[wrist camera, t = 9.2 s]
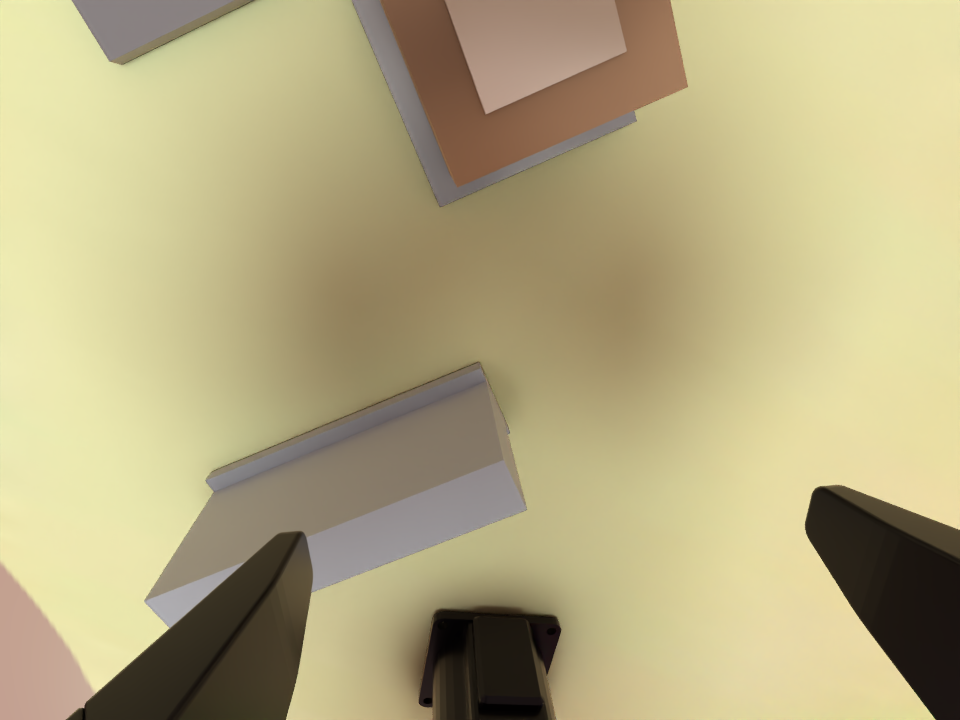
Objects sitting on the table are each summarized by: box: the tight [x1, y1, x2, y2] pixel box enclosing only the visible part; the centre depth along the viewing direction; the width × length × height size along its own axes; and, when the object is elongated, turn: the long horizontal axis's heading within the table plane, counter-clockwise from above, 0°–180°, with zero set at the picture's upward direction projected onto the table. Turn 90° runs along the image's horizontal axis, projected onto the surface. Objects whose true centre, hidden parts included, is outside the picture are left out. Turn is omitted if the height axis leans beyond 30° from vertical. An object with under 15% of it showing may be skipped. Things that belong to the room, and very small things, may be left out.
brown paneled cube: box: [380, 0, 688, 188], centre depth 13 cm, size 6×6×6 cm
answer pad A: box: [352, 0, 637, 207], centre depth 16 cm, size 7×7×1 cm
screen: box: [144, 362, 527, 628], centre depth 18 cm, size 12×3×6 cm, turn 112°
